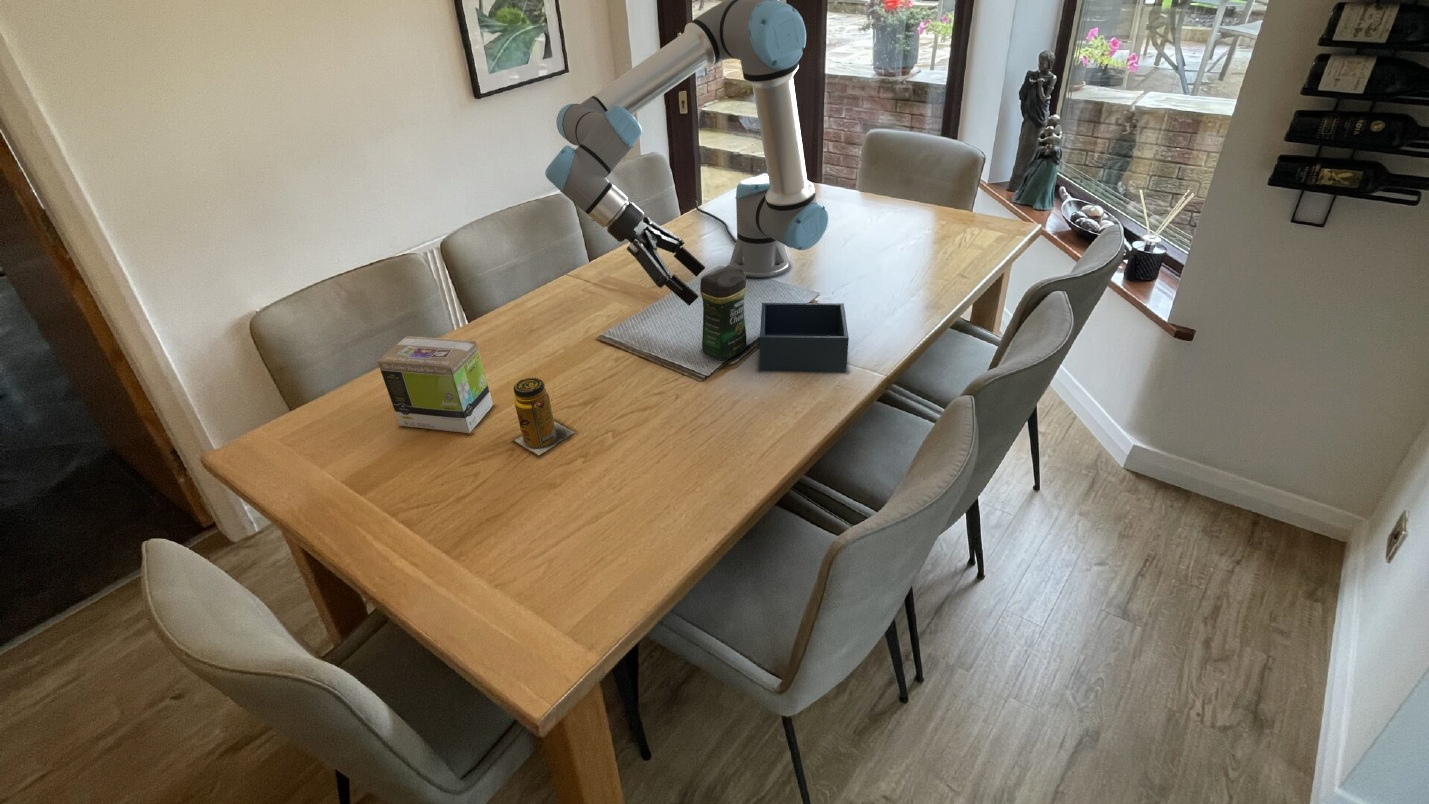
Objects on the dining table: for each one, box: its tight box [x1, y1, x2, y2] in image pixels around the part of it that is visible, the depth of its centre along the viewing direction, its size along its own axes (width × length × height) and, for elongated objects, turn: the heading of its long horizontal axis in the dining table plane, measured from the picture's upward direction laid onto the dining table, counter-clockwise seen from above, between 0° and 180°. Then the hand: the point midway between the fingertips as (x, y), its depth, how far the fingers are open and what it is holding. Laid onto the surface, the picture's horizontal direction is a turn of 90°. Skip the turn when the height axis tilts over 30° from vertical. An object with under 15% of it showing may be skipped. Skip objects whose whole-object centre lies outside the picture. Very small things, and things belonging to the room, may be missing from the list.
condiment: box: [513, 377, 575, 456], centre depth 130 cm, size 7×8×12 cm
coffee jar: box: [699, 264, 748, 361], centre depth 152 cm, size 10×8×19 cm
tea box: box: [377, 335, 493, 434], centre depth 136 cm, size 15×10×15 cm, turn 77°
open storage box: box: [759, 302, 850, 373], centre depth 153 cm, size 15×18×8 cm
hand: (697, 285), depth 149 cm, fingers open, 13 cm apart
